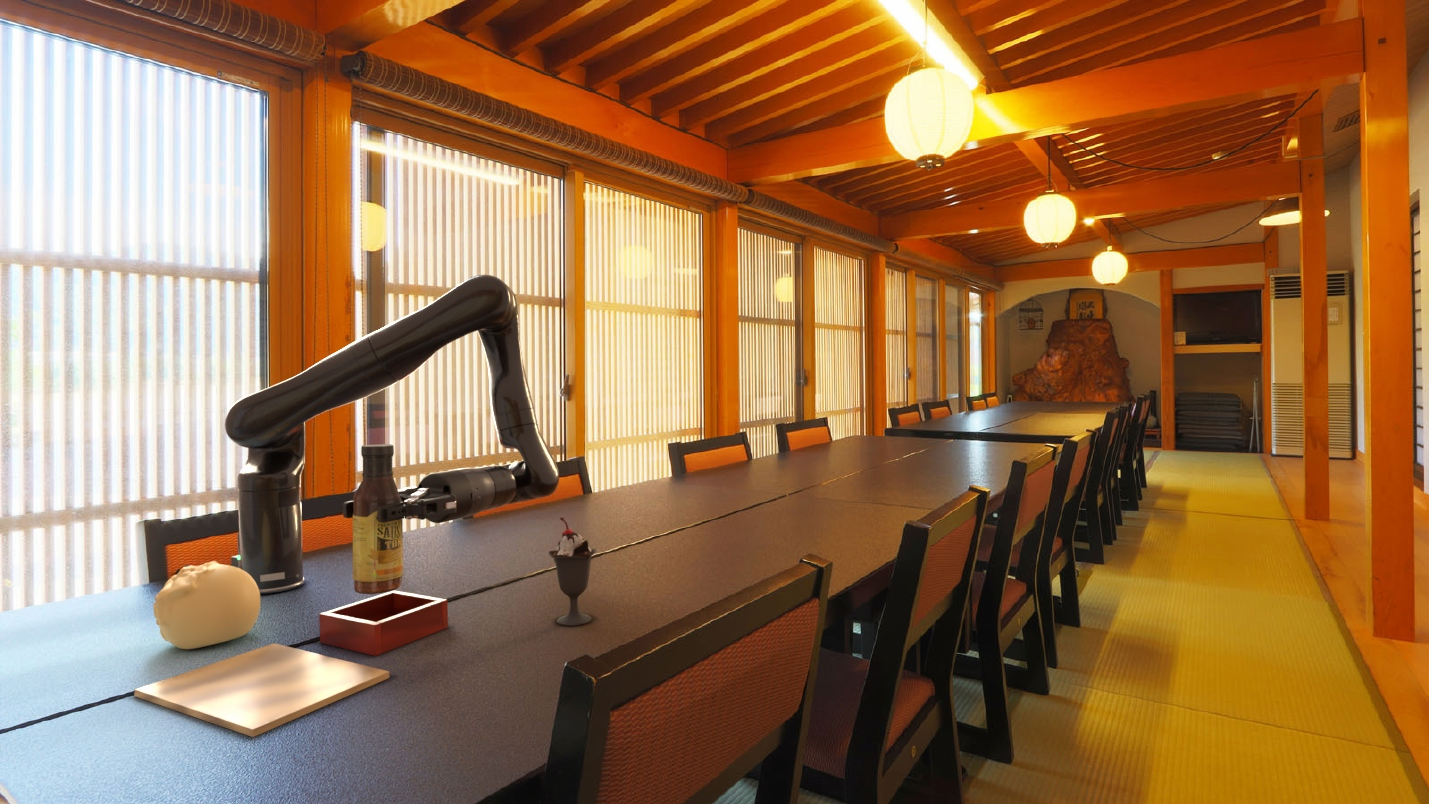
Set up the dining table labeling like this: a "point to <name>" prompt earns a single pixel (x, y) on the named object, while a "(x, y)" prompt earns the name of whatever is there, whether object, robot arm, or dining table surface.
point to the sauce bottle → (376, 525)
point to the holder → (383, 622)
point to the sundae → (572, 573)
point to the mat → (261, 688)
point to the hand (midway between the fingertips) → (362, 512)
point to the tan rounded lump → (207, 605)
